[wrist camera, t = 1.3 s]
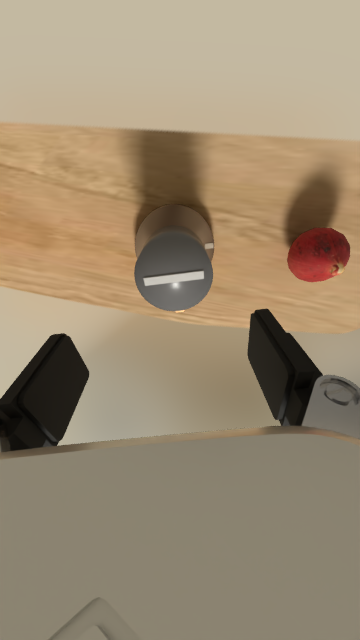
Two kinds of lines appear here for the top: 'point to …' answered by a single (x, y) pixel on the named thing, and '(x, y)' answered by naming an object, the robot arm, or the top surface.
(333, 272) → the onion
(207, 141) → the top surface
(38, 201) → the top surface
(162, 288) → the grey striped cylinder
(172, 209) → the post base
